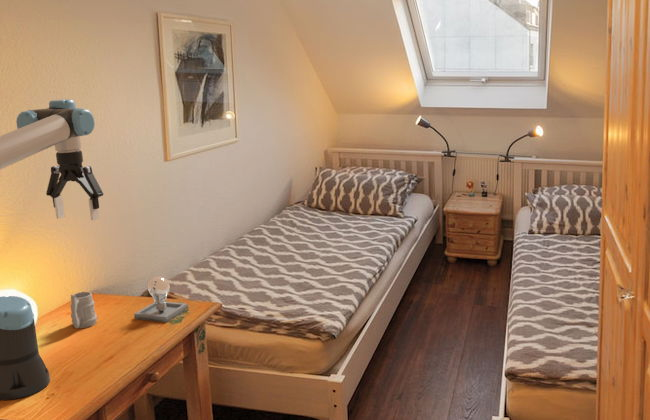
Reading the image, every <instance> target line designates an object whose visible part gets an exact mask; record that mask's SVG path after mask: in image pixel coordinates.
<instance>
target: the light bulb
mask: <svg viewBox="0 0 650 420" xmlns="http://www.w3.org/2000/svg"><path fill="white" fill-rule="evenodd" d="M170 287H171V286H170V283H169V280H168V279H167V278H165V277H163V276H161V275H159V276H154V277H152V278H151V279H150V280H149V282H148V284H147V289H148V293H149V294H150V296H151V297H152V299H153V303H154V302H155V303H156V309H157V310H158V311H160V312H163V311H164V310H165V309H166V302H167V297H168V294H169V292H170Z"/></svg>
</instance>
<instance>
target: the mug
mask: <svg viewBox="0 0 650 420" xmlns="http://www.w3.org/2000/svg"><path fill="white" fill-rule="evenodd" d="M70 301H71V302H70V303H71V304H70V311H71V314H70V318H71V322H72V325H73V326H74V328H75V329H78V328H79V329H85V328H89V327H92V326H94V325H96V324H97V322H98V321H97V319H98V315H97V314H96V310H95V304H96V303H95V300H93V294H92V292H91V291H80V292H76V293H73V294H71V295H70Z"/></svg>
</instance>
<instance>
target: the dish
mask: <svg viewBox="0 0 650 420" xmlns="http://www.w3.org/2000/svg"><path fill="white" fill-rule="evenodd" d="M187 308H188V309H189V303H184V302H173V301H166V309H165V310H164V311H163V312H160V311H158V310H157V309H156V303H155V302H154V301H153V302H152V303H150V304H148V305H147V306H145V307H144V308H141V309H140V310H138V311H136V312H134V313H133V315H134V319H135V320H140V321H141V320H143V321H152V322H158V323H159V322H161V323H168V322H170V321H172V320H173V319H175V318H176V317H178V316H179V315H181V314H182V312H183V311H184V310H185V309H187ZM188 309H187V310H188ZM184 312H185V311H184ZM184 312H183V313H184ZM180 313H181V314H180Z"/></svg>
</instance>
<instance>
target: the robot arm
mask: <svg viewBox="0 0 650 420" xmlns="http://www.w3.org/2000/svg"><path fill="white" fill-rule="evenodd" d="M15 122H16V128H17V129H14V130H12V131H9V132H6V133H4V134H1V135H0V170H2V169H5V168H7V167H9V166H11V165H14V164H16V163H18V162H20V161H22V160H25V159H27V158H29V157H31V156H33V155H36V154H38V153H40V152H43V151H45V150H47V149H49V148H51V147H54V150H55V152H56V153H55V156H56V157H55V158H56V164H57V165H55V166H51V167H50V176H49V180H48V181H49V182H48V185H47V188H46V189H47V190H46V196H50V197H51V198H52V203H53V208H55V216H56V219H57V220H58V219H61V218H65V215H66V214H65V208H64V201H63V196H62V195H61V194H62V192H63V189H64V188H65V186H66V184H67V183H68V182H76V183H77V184H78V185H80V187H81V188H82V189H83V191H84V192H85V193H86V194H87V195H88V197H89V199H88V205H89V206H88V207H89V212H90V220H91V221H95V220H99V219H100V215H99V209H100V202H99V201H100V200H99V198H100V197H103V196H104V192H103V190H102V188H101V187H100V184H99V183H98V181H97V178H96V177H95V175H94V173H93V169H92V166H90V165H88V166H83V162H84V159H83V152H82V150H81V149H82V143H81V137H82V136H88V135H90V134H92V132H93V131H94V129H95V124H96V123H95V117H94V115H93V113H92V112H91V111H90V110H89V109H87V108H78V107H77V106H76V102H75V101H74V100H73V99H66V98H65V99H55V100H50V101H49V103H48V108H40V109H28V110H25V111H21V112H20V113H19V114H18V115H17V116H16V121H15ZM34 316H35V315H34V312H33V309H32V305H31V303H30V301H29V300H27V299H26V298H25V297H21V296H13V295H9V296H4V295H3V296H0V401H8V400H17V399H22V398H25V397H29V396H31V395H34V394H36V393H38V392H41V391H42V390H43V389H45V388H46V387H47V386H48V385H49V384H50V382H51V376H50V372H49V369H48V367H47V366H46V364H45V362H44V361H43V358H42V357H41V355H40V353H39V346H38V339H37V329H36V324H35V317H34Z"/></svg>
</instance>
